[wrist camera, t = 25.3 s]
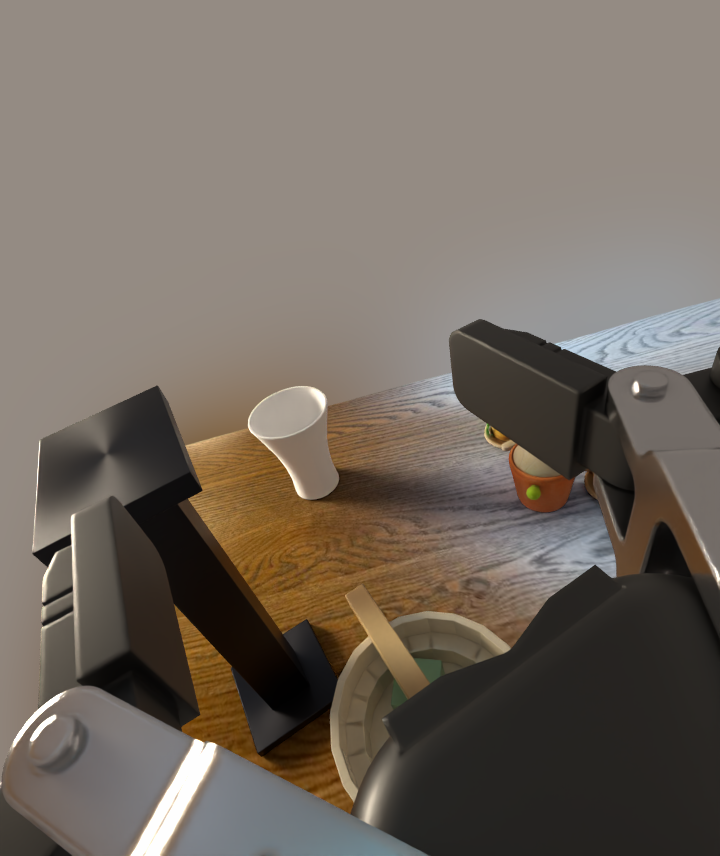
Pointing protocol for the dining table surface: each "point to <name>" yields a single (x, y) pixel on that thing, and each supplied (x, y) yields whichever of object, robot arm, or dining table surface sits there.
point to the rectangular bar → (387, 642)
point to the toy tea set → (536, 476)
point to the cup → (298, 437)
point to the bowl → (373, 683)
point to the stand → (182, 555)
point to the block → (430, 670)
